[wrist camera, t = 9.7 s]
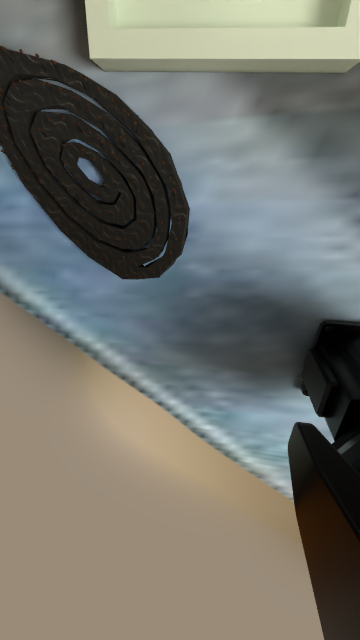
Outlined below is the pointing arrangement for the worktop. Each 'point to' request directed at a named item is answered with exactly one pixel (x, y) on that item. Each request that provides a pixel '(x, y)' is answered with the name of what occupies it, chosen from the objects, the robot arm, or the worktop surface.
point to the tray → (224, 35)
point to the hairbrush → (131, 191)
